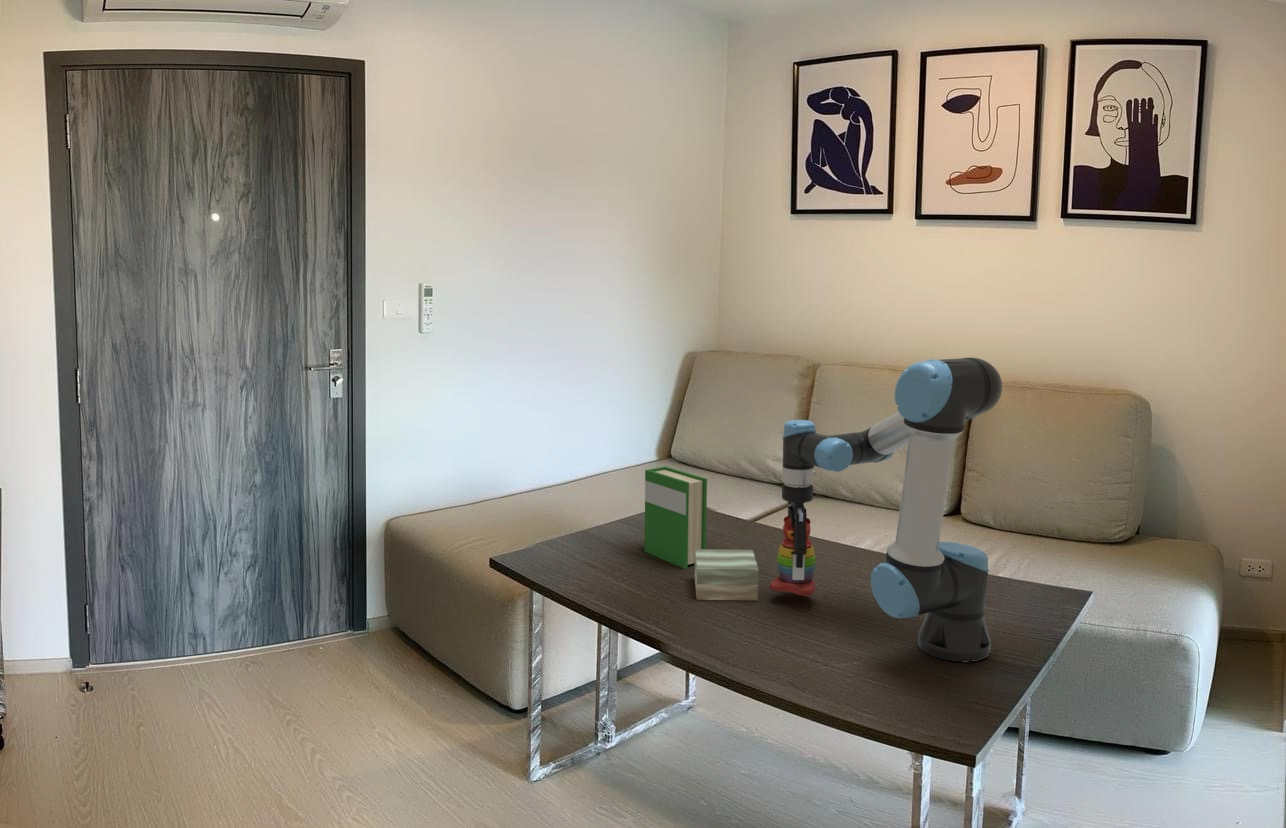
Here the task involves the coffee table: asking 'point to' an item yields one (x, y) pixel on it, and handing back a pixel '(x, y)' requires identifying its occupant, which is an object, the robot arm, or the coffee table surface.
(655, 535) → the hardback book
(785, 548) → the stacking bear
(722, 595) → the tower base
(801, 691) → the coffee table surface
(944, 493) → the robot arm
